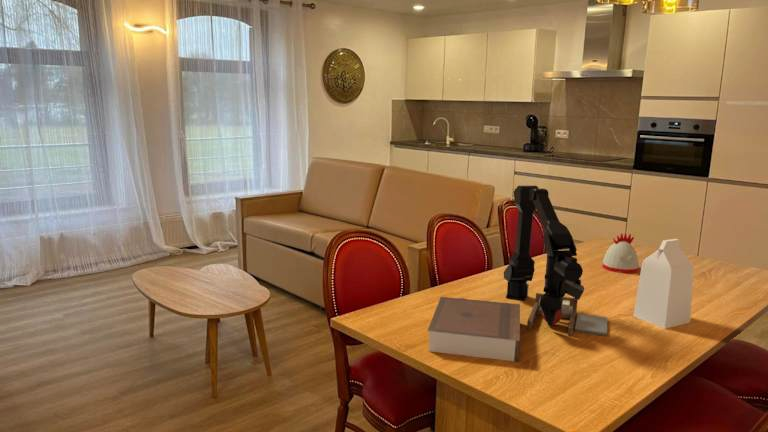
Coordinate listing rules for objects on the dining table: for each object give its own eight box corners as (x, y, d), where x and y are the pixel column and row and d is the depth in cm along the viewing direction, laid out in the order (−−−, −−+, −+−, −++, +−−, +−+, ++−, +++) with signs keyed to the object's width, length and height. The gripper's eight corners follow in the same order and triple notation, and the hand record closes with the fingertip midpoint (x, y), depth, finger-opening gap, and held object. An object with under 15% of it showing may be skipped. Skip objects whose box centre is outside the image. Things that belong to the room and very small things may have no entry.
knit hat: (643, 273, 233) (648, 237, 230) (609, 273, 233) (613, 236, 230) (629, 264, 246) (633, 229, 243) (597, 263, 246) (600, 229, 243)
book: (518, 324, 179) (519, 304, 178) (518, 364, 152) (519, 340, 151) (440, 316, 184) (440, 296, 183) (426, 353, 157) (427, 330, 156)
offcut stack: (536, 313, 186) (537, 300, 185) (537, 309, 190) (538, 296, 189) (571, 319, 182) (572, 305, 182) (572, 314, 186) (573, 301, 186)
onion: (538, 321, 180) (540, 297, 178) (556, 321, 180) (558, 297, 179) (545, 329, 174) (547, 304, 173) (563, 328, 175) (566, 303, 173)
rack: (526, 328, 174) (528, 313, 173) (535, 307, 192) (536, 292, 191) (571, 336, 169) (573, 319, 168) (576, 313, 188) (577, 298, 187)
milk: (664, 328, 176) (675, 246, 171) (633, 316, 186) (642, 237, 181) (690, 322, 182) (700, 242, 177) (658, 310, 192) (667, 234, 187)
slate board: (574, 331, 173) (574, 328, 173) (577, 315, 186) (577, 313, 186) (606, 336, 170) (606, 333, 170) (607, 319, 183) (607, 317, 182)
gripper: (582, 283, 162) (577, 335, 166) (585, 266, 179) (581, 314, 183) (541, 278, 166) (537, 329, 170) (548, 262, 183) (544, 308, 187)
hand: (551, 320), depth 177 cm, fingers open, 9 cm apart
